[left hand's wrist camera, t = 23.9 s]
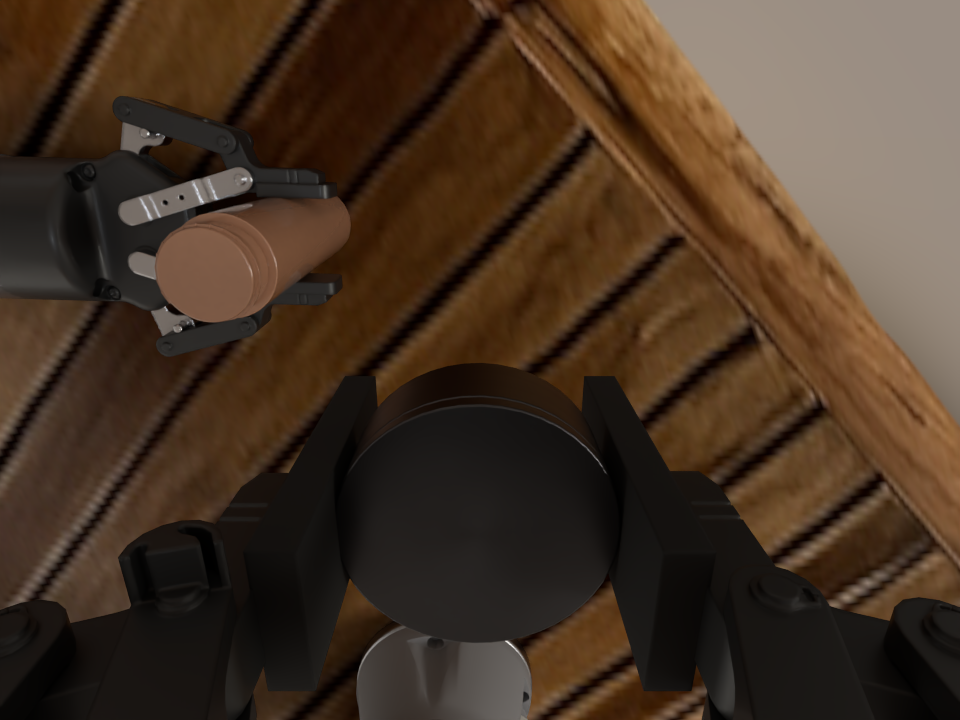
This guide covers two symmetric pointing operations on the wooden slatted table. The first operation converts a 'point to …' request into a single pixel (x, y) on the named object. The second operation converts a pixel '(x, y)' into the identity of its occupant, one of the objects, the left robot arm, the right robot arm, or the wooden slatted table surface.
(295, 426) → the wooden slatted table surface
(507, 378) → the lid
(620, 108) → the wooden slatted table surface
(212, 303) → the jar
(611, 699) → the wooden slatted table surface
